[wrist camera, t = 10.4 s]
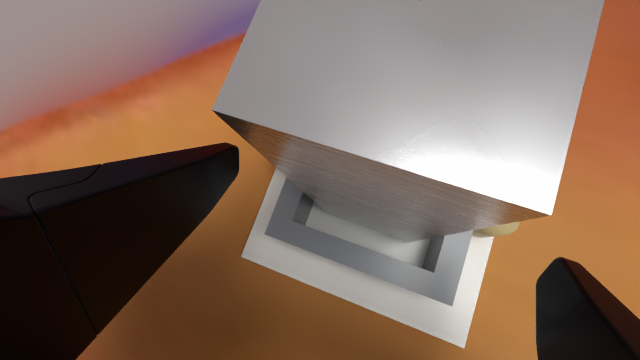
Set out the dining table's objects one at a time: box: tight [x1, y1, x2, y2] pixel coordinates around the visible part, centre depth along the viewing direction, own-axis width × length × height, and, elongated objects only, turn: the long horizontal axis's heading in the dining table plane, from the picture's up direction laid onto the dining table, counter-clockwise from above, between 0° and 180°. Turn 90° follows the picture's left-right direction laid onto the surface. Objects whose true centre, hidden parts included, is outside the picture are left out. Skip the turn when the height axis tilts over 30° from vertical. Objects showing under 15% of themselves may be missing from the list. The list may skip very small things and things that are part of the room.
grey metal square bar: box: [212, 0, 604, 243], centre depth 10 cm, size 4×4×13 cm
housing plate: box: [241, 168, 520, 348], centre depth 16 cm, size 12×12×4 cm
